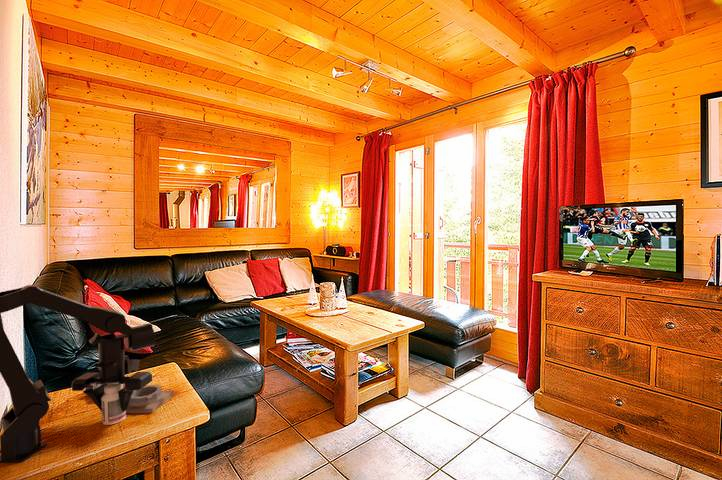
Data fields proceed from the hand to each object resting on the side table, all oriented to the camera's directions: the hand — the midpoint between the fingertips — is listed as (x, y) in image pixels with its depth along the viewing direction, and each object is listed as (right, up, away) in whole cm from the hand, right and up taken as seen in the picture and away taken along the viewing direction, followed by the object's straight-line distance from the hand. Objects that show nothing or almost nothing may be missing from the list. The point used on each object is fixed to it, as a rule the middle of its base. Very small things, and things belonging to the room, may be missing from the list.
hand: (114, 411), depth 95 cm
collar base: (+3, -2, +9) cm, 10 cm away
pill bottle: (0, -3, 0) cm, 3 cm away
